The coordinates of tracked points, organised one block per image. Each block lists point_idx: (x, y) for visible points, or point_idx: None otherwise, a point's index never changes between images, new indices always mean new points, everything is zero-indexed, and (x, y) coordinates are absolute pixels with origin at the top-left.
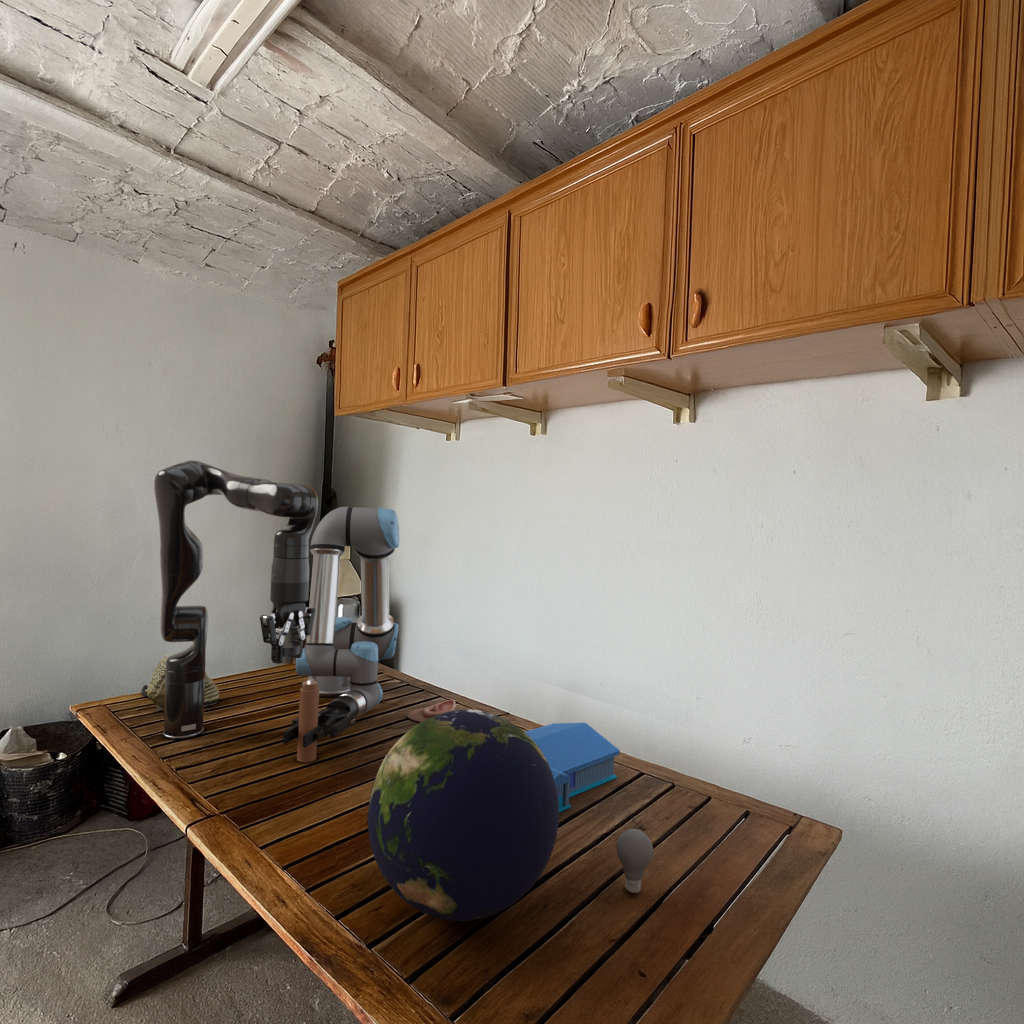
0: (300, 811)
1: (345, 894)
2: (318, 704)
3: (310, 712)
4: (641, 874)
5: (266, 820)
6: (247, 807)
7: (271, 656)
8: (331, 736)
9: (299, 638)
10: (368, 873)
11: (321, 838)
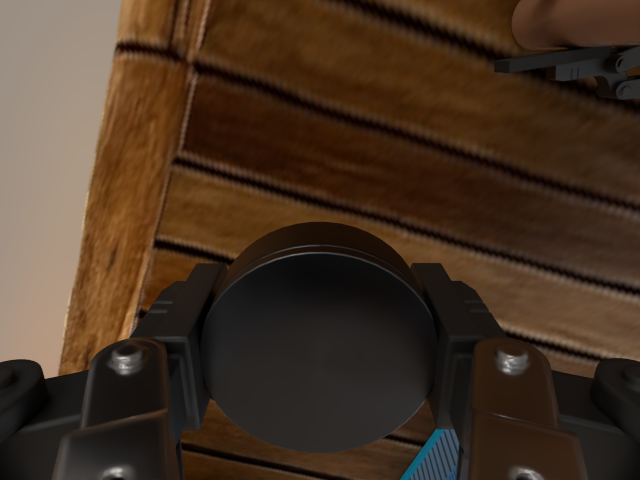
0: (292, 213)
1: None
2: None
3: (606, 36)
4: None
5: (228, 179)
6: (245, 99)
7: (156, 301)
8: (597, 90)
9: (459, 432)
10: (204, 415)
11: None
